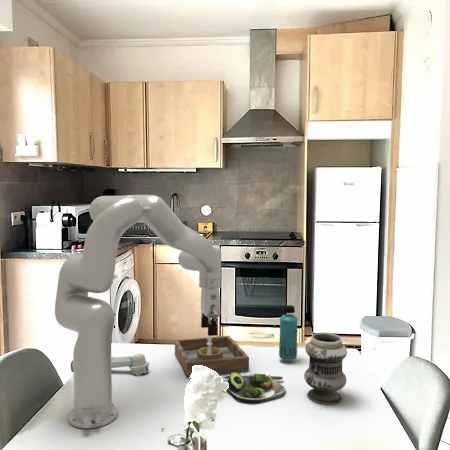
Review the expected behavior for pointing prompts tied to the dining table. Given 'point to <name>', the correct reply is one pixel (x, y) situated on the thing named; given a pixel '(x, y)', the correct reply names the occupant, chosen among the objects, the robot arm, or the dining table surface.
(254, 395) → the avocado toast plate
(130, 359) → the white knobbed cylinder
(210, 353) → the chess piece
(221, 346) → the socket box
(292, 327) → the beverage bottle
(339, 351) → the apothecary jar
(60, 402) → the dining table surface
